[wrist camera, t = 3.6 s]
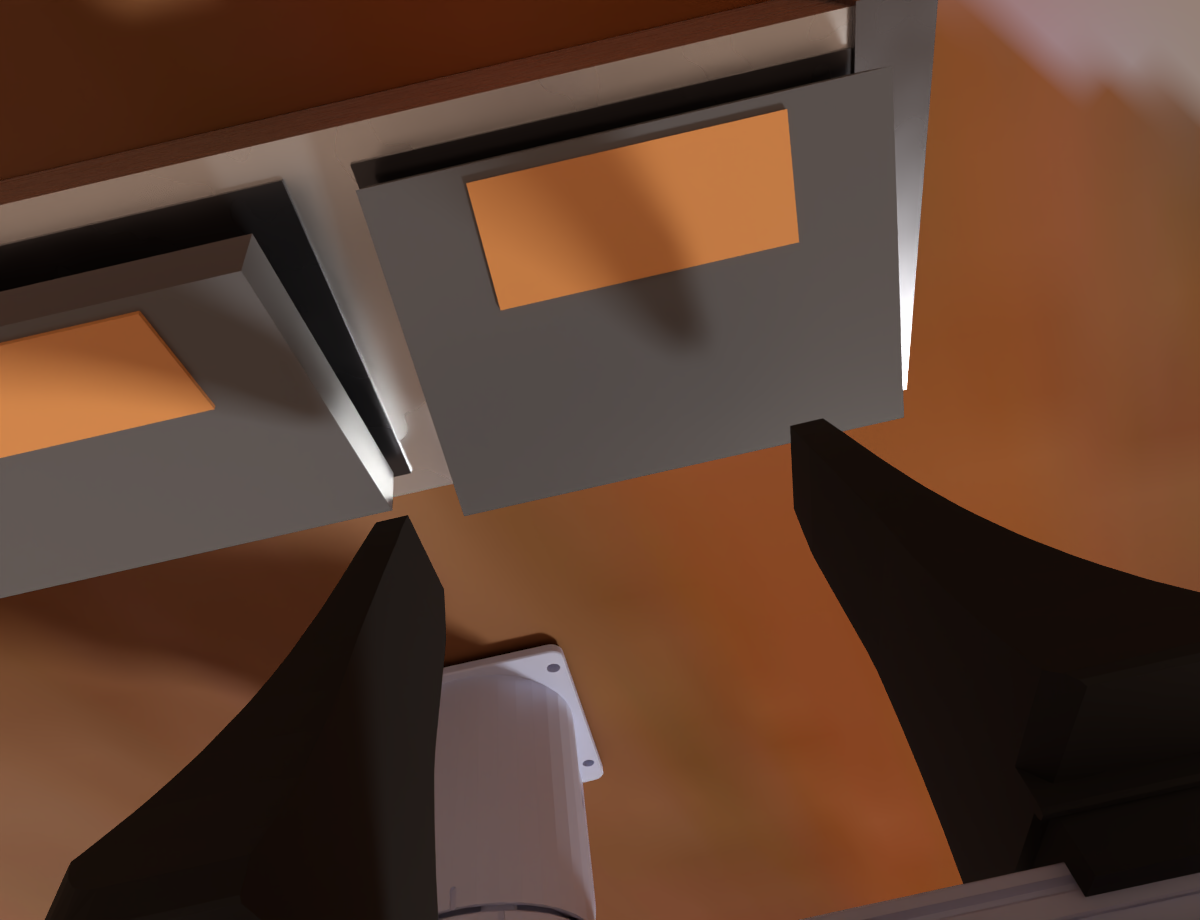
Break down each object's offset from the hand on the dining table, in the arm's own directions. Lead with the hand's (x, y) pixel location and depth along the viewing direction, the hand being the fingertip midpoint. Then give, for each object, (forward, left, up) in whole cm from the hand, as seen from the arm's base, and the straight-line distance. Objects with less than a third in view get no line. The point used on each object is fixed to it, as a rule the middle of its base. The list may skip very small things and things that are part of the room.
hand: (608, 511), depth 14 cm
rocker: (+2, +10, -4) cm, 11 cm away
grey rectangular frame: (+2, -2, -4) cm, 5 cm away
